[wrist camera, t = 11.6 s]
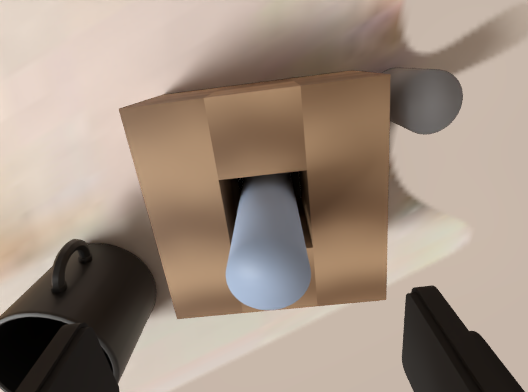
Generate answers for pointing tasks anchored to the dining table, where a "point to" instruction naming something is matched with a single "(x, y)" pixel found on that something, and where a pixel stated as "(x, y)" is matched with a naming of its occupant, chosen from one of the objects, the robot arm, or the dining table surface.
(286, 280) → the tall pin
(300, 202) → the hole block
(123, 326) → the mug
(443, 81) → the short pin
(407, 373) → the robot arm
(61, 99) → the dining table surface
